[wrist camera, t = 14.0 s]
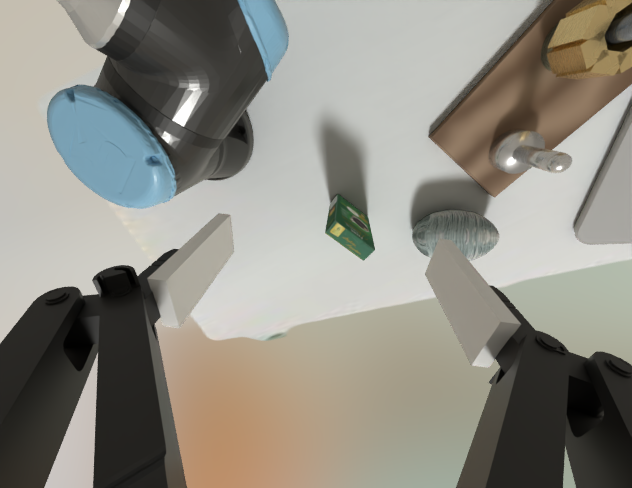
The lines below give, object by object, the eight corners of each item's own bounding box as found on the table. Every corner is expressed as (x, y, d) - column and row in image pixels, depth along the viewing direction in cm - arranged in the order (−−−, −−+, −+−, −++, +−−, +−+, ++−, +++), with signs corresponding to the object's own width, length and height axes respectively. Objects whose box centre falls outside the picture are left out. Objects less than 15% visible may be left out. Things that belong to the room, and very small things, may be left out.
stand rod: (480, 154, 39) (526, 169, 30) (515, 120, 37) (578, 126, 27) (503, 176, 41) (554, 198, 31) (539, 146, 38) (607, 160, 28)
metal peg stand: (531, 50, 33) (611, 27, 23) (578, 0, 30) (693, -50, 20) (556, 82, 34) (643, 72, 24) (604, 37, 31) (723, 6, 22)
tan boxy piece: (535, 74, 31) (566, 69, 27) (574, -12, 27) (618, -34, 23) (597, 82, 31) (638, 78, 27) (646, -3, 27) (704, -24, 23)
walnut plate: (428, 136, 40) (431, 138, 39) (586, -36, 29) (597, -42, 28) (489, 194, 44) (494, 197, 42) (649, 60, 33) (662, 58, 32)
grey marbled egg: (402, 259, 48) (436, 266, 38) (404, 211, 48) (438, 205, 38) (462, 258, 51) (508, 265, 41) (464, 213, 50) (511, 208, 40)
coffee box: (327, 203, 47) (323, 233, 36) (337, 191, 46) (335, 220, 35) (358, 226, 49) (364, 263, 38) (368, 216, 48) (377, 250, 37)
